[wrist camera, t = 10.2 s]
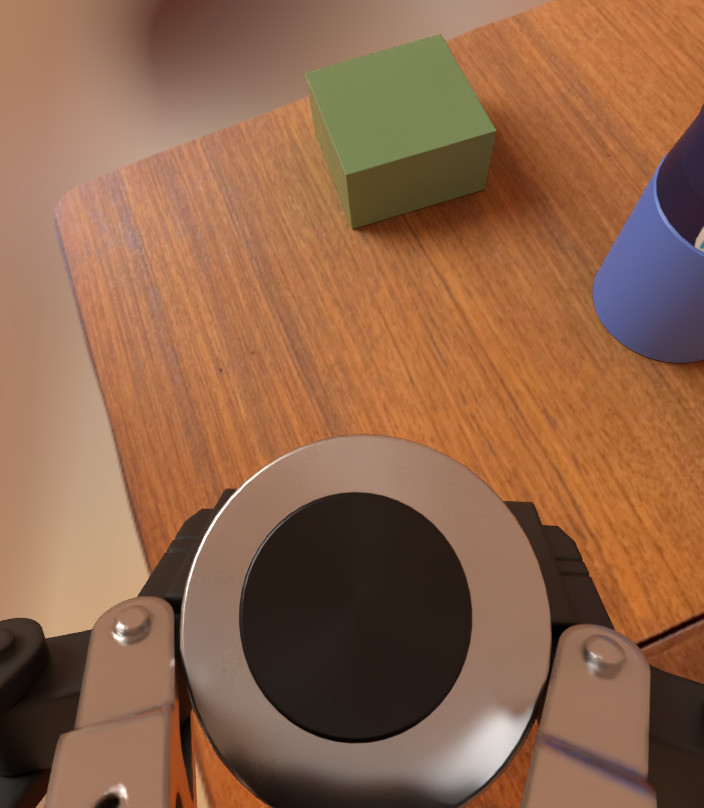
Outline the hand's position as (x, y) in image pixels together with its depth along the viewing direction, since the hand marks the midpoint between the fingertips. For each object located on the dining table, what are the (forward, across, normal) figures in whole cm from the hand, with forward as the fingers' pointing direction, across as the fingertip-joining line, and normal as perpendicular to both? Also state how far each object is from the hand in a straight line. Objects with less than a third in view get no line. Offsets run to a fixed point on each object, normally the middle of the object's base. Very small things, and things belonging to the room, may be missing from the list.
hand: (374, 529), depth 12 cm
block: (+34, 0, -8) cm, 35 cm away
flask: (+2, 0, +4) cm, 5 cm away
